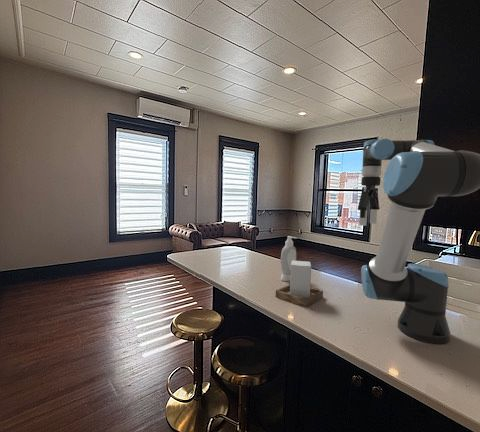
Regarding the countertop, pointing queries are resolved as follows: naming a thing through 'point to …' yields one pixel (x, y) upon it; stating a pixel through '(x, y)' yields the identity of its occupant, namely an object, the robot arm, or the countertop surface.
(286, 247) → the soap bottle
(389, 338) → the countertop surface
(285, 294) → the tray
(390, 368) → the countertop surface
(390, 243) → the robot arm
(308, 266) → the supplement box
